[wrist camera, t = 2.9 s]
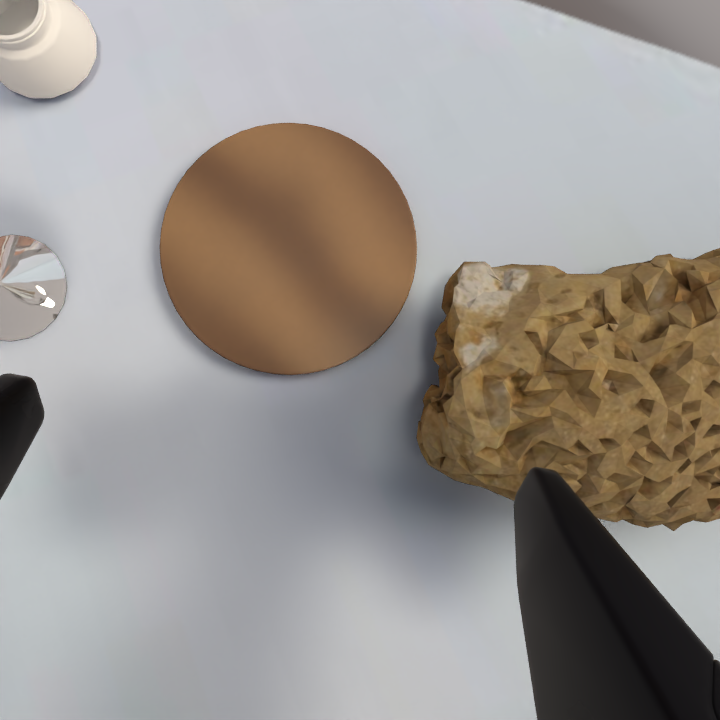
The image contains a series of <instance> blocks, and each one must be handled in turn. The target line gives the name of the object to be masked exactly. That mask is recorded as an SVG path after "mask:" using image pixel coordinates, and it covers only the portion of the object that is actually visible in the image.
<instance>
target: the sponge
mask: <svg viewBox="0 0 720 720" xmlns="http://www.w3.org/2000/svg"><path fill="white" fill-rule="evenodd" d="M442 309H443V311H444V312H445V314H446V315H447V316H446V318H445V320H444V322H442V323H441V324H440V325H439V327H438V329H437V331H436V333H435V337H436V340H437V346H436V350H435V353H434V357H433V360H434V361H435V362H436V363H437V364H438V365H439V370H438V375H439V387H438V386H437V385H432V384H431V386H430V387H429V389H428V390H427V392H426V394H425V396H424V398H423V403H424V409H423V413H422V416H421V421H419V423H418V431H417V441H418V444H419V448H420V451H421V453H422V455H423V456H424V458H425V460H426V461H427V463H428V465H430V466H431V467H433V468H435V469H436V470H438V471H440V472H441V473H443V474H445V475H446V476H448V477H450V478H452V479H453V480H456V481H459V482H463V483H466V484H470V485H475V486H480V487H483V488H486V489H488V490H490V491H492V492H495V493H497V494H499V495H502V496H504V497H506V498H509V499H511V500H513V501H514V500H515V496H516V493H517V491H518V490H519V488H520V486H521V484H522V483H523V481H524V479H525V477H526V476H527V474H528V472H529V471H530V469H531V468H533V467H541V468H547V469H552V470H555V471H556V472H558V473H559V474H560V475H561V476H562V478H563V479H564V480H565V481H566V482H567V484H568V485H569V486H570V487H571V488H572V489H573V491H574V492H575V493H576V494H577V495H578V497H579V498H580V499H581V500H582V501H583V502H584V504H585V505H586V506H587V507H588V508H589V509H590V511H591V512H592V513H593V514H594V515H595V517H596V518H599V519H603V520H608V521H612V522H618V521H620V520H625V521H627V522H629V523H631V524H634V525H638V526H642V527H647V528H648V527H652V526H656V525H661V524H663V525H665V526H666V527H668V528H670V529H671V530H673V531H675V530H676V529H677V528H678V527H680V526H681V525H682V524H684V523H687V522H690V521H692V520H694V521H700V522H709V521H713V520H716V519H720V248H719V249H716V250H713V251H710V252H707V253H705V254H703V255H701V256H699V257H697V258H695V259H692V260H686V259H680V258H675V257H673V256H672V255H671V254H666V255H659V256H656V257H654V258H653V259H652V260H651V261H647V262H643V263H635V264H629V265H623V266H617V267H612V268H610V269H608V270H606V271H605V272H603V273H602V274H567V273H565V272H563V271H561V270H560V269H558V268H556V267H554V266H545V265H518V264H510V265H505V266H500V267H492V268H491V267H490V265H488V264H487V263H486V262H463V264H462V265H461V266H460V267H459V268H458V269H457V270H456V272H455V273H454V274H453V275H452V276H451V277H450V279H449V280H448V282H447V284H446V286H445V289H444V295H443V301H442Z"/></svg>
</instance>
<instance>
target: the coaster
mask: <svg viewBox="0 0 720 720" xmlns="http://www.w3.org/2000/svg"><path fill="white" fill-rule="evenodd" d="M416 257H417V242H416V231H415V226H414V221H413V217H412V213H411V211H410V208H409V205H408V202H407V200H406V198H405V196H404V194H403V192H402V190H401V188H400V186H399V184H398V183H397V182H396V180H395V179H394V177H393V176H392V174H391V173H390V172H389V170H388V169H387V168H386V167H385V166H384V165H383V164H382V163H381V162H380V160H379V159H377V158H376V157H375V156H374V155H373V154H372V153H370V152H369V151H368V150H367V149H365V148H364V147H362V146H361V145H359V144H358V143H356V142H355V141H353V140H352V139H349V138H347V137H345V136H343V135H341V134H339V133H337V132H334V131H331V130H328V129H325V128H322V127H317V126H313V125H308V124H297V123H278V124H269V125H263V126H257V127H254V128H251V129H248V130H244V131H241V132H239V133H237V134H235V135H232V136H230V137H228V138H226V139H224V140H223V141H221V142H219V143H218V144H216V145H215V146H213V147H212V148H210V149H209V150H208V151H207V152H206V153H204V154H203V155H202V156H201V157H199V158H198V160H197V161H196V162H195V163H194V164H193V165H192V166H191V167H190V168H189V169H188V170H187V172H186V173H185V175H184V176H183V177H182V179H181V180H180V182H179V183H178V185H177V187H176V188H175V190H174V192H173V194H172V196H171V198H170V201H169V203H168V206H167V209H166V212H165V215H164V219H163V224H162V228H161V238H160V261H161V268H162V273H163V278H164V282H165V285H166V288H167V291H168V294H169V296H170V298H171V300H172V302H173V304H174V307H175V309H176V311H177V312H178V314H179V315H180V317H181V318H182V320H183V321H184V322H185V324H186V325H187V326H188V328H189V329H190V330H191V331H192V332H193V333H194V334H195V335H196V337H197V338H199V339H200V340H201V341H202V342H203V343H204V344H205V345H207V346H208V347H209V348H210V349H212V350H213V351H215V352H216V353H218V354H219V355H221V356H222V357H224V358H226V359H228V360H230V361H232V362H234V363H236V364H238V365H241V366H244V367H247V368H250V369H253V370H256V371H260V372H266V373H271V374H281V375H298V374H309V373H314V372H319V371H323V370H327V369H329V368H332V367H335V366H338V365H341V364H343V363H345V362H347V361H349V360H351V359H353V358H355V357H356V356H357V355H359V354H360V353H362V352H363V351H365V350H366V349H368V348H369V347H370V346H371V345H372V344H374V343H375V342H376V341H377V340H378V339H379V338H380V337H381V336H382V335H383V334H384V333H385V331H386V330H387V329H388V328H389V327H390V326H391V324H392V323H393V322H394V320H395V319H396V317H397V315H398V314H399V312H400V311H401V309H402V307H403V305H404V303H405V301H406V299H407V297H408V294H409V291H410V288H411V285H412V282H413V278H414V273H415V267H416Z"/></svg>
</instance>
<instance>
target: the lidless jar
mask: <svg viewBox="0 0 720 720" xmlns="http://www.w3.org/2000/svg"><path fill="white" fill-rule="evenodd" d="M95 59H96V35H95V33H94V30H93V28H92V26H91V23H90V21H89V19H88V17H87V16H86V14H85V13H84V12H83V11H82V10H81V9H80V8H79V7H78V6H77V5H76V4H75V3H74V2H73V1H71V0H0V81H1V82H2V83H3V84H4V85H5V86H6V87H7V88H8V89H9V90H11V91H13V92H16V93H18V94H21V95H24V96H26V97H29V98H54V97H57V96H59V95H62V94H64V93H67V92H69V91H72V90H73V89H74V88H76V87H77V86H78V85H79V84H80V83H81V82H82V81H83V80H84V79H85V78H86V77H87V76H88V75H89V73H90V70H91V68H92V66H93V64H94V61H95Z"/></svg>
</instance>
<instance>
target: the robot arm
mask: <svg viewBox="0 0 720 720" xmlns="http://www.w3.org/2000/svg"><path fill="white" fill-rule="evenodd" d="M43 419H44V408H43V405H42V402H41V399H40V395H39V392H38V389H37V386H36V383H35V381H34V380H33V379H32V378H30V377H27V376H21V375H16V374H3V375H1V376H0V499H1V497H2V496H3V494H4V492H5V491H6V489H7V487H8V485H9V484H10V482H11V480H12V478H13V476H14V474H15V473H16V471H17V469H18V467H19V465H20V463H21V462H22V460H23V458H24V456H25V454H26V452H27V451H28V449H29V447H30V445H31V443H32V441H33V439H34V438H35V436H36V434H37V432H38V430H39V428H40V427H41V425H42V422H43ZM514 520H515V546H516V571H517V586H518V594H519V602H520V608H521V615H522V622H523V628H524V635H525V641H526V648H527V655H528V661H529V668H530V674H531V681H532V687H533V694H534V701H535V707H536V714H537V720H720V662H719V661H717V660H713V659H714V658H713V655H712V653H711V652H710V651H709V650H708V649H707V647H706V646H705V645H704V644H703V643H702V641H701V640H700V639H699V638H698V637H697V636H696V634H695V633H694V632H693V631H692V630H691V628H690V627H689V626H688V625H687V624H686V623H685V621H684V620H683V619H682V618H681V617H680V616H679V614H678V613H677V612H676V611H675V610H674V608H673V607H672V606H671V605H670V604H669V603H668V601H667V600H666V599H665V598H664V597H663V596H662V594H661V593H660V592H659V591H658V590H657V588H656V587H655V586H654V585H653V584H652V583H651V581H650V580H649V579H648V578H647V577H646V575H645V574H644V573H643V572H642V571H641V570H640V568H639V567H638V566H637V565H636V564H635V563H634V561H633V560H632V559H631V558H630V557H629V555H628V554H627V553H626V552H625V551H624V550H623V548H622V547H621V546H620V545H619V544H618V542H617V541H616V540H615V539H614V538H613V537H612V535H611V534H610V533H609V532H608V531H607V530H606V528H605V527H604V526H603V525H602V524H601V522H600V521H599V520H598V519H597V518H596V517H595V515H594V514H593V513H592V512H591V511H590V509H589V508H588V507H587V506H586V505H585V504H584V502H583V501H582V500H581V499H580V498H579V497H578V495H577V494H576V493H575V492H574V491H573V489H572V488H571V487H570V486H569V485H568V484H567V482H566V481H565V480H564V479H563V478H562V476H561V475H560V474H559V473H558V472H556V471H555V470H552V469H547V468H541V467H533V468H531V469H530V471H529V472H528V474H527V476H526V477H525V479H524V481H523V483H522V484H521V486H520V488H519V490H518V491H517V493H516V496H515V500H514Z"/></svg>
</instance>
